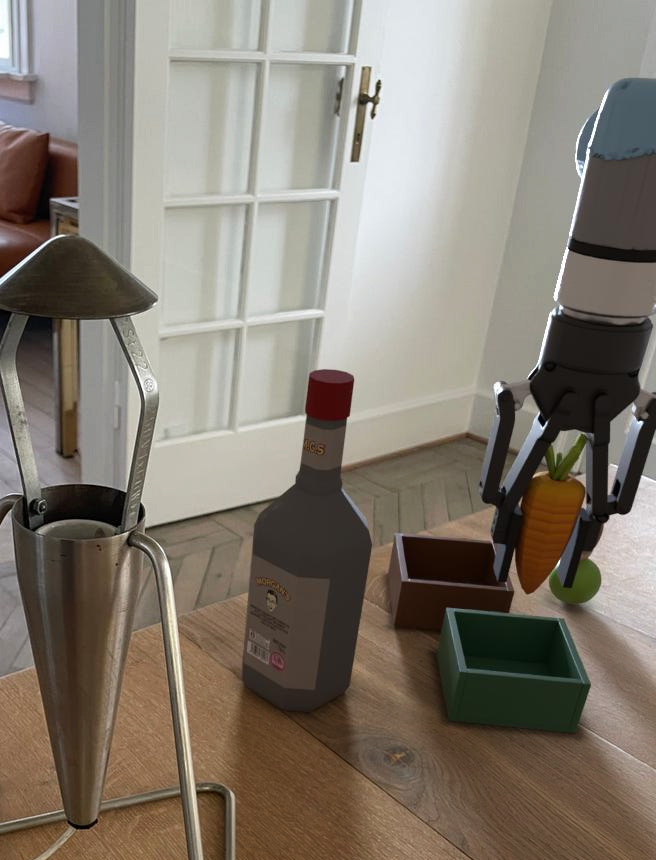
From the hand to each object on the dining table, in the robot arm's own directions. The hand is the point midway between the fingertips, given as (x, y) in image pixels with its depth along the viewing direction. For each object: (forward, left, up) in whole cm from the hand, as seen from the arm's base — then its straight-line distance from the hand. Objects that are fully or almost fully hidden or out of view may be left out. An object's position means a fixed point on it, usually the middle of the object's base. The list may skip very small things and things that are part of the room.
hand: (531, 577), depth 86 cm
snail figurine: (-10, -19, -13) cm, 25 cm away
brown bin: (+4, -16, -13) cm, 21 cm away
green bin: (0, 0, -13) cm, 13 cm away
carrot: (0, 0, -2) cm, 2 cm away
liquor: (+20, +2, -13) cm, 24 cm away
